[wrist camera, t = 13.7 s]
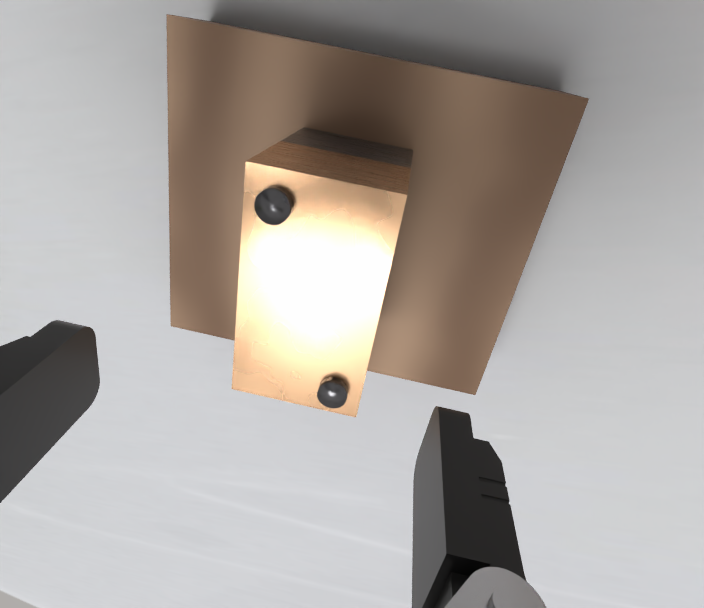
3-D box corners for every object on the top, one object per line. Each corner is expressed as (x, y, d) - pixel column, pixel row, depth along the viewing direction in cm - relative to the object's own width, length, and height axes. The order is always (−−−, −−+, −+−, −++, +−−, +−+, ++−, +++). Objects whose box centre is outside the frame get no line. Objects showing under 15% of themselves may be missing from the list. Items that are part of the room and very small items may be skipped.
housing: (303, 127, 19) (240, 164, 13) (413, 149, 19) (407, 198, 12) (283, 299, 23) (227, 395, 16) (374, 319, 23) (354, 425, 16)
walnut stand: (202, 292, 28) (170, 326, 25) (209, 21, 21) (166, 14, 18) (468, 351, 27) (475, 394, 24) (561, 91, 21) (588, 98, 17)
